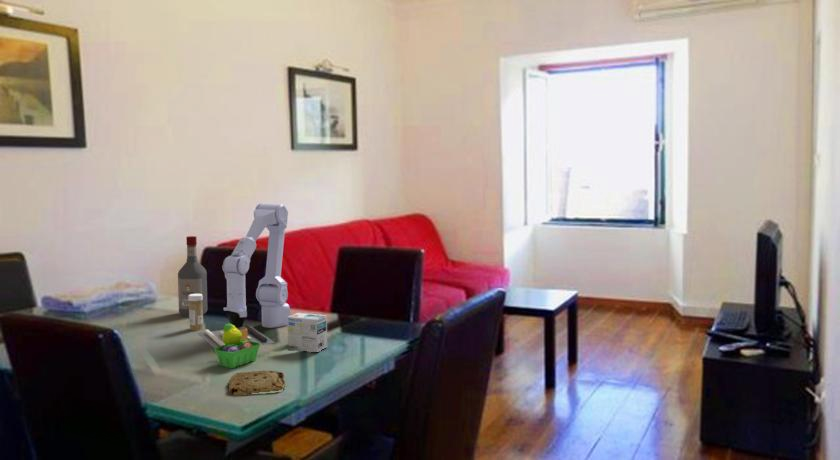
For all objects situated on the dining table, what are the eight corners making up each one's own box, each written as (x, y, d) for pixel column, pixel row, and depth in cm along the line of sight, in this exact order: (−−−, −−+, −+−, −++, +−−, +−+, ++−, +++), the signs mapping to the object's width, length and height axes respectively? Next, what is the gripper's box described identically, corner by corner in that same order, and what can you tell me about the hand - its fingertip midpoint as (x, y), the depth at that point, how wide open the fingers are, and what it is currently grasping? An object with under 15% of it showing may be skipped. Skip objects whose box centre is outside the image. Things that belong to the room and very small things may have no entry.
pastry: (208, 390, 160) (208, 378, 160) (259, 372, 175) (259, 361, 174) (256, 404, 151) (256, 392, 150) (305, 383, 165) (305, 372, 165)
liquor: (200, 316, 237) (198, 238, 234) (176, 316, 237) (174, 237, 234) (209, 311, 246) (207, 235, 243) (186, 310, 246) (184, 235, 243)
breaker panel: (251, 330, 217) (250, 323, 217) (275, 347, 197) (275, 339, 197) (197, 337, 207) (197, 330, 207) (217, 356, 187) (217, 347, 187)
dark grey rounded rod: (247, 327, 215) (247, 323, 215) (267, 341, 198) (267, 337, 198) (243, 328, 214) (242, 324, 214) (263, 342, 197) (263, 338, 197)
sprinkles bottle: (205, 333, 212) (204, 294, 211) (191, 335, 210) (190, 296, 208) (201, 330, 216) (200, 292, 215) (187, 332, 214) (186, 294, 212)
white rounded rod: (208, 332, 208) (208, 328, 208) (226, 347, 191) (226, 343, 190) (204, 333, 207) (204, 329, 207) (221, 348, 190) (221, 344, 190)
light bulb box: (327, 348, 197) (327, 314, 196) (317, 353, 191) (317, 319, 190) (298, 344, 201) (297, 311, 200) (287, 350, 194) (286, 316, 193)
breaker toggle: (244, 339, 200) (244, 326, 200) (247, 341, 198) (247, 328, 198) (232, 341, 198) (232, 327, 198) (235, 343, 196) (234, 329, 195)
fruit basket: (231, 370, 174) (230, 331, 173) (210, 365, 179) (209, 326, 178) (261, 360, 184) (261, 322, 183) (241, 355, 189) (240, 318, 188)
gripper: (217, 290, 203) (218, 331, 204) (230, 298, 191) (231, 341, 192) (239, 288, 207) (239, 328, 208) (253, 296, 195) (253, 338, 196)
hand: (237, 334), depth 200 cm, fingers closed
